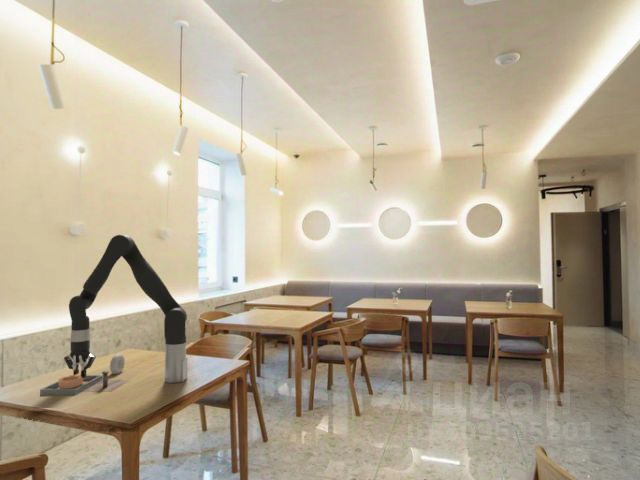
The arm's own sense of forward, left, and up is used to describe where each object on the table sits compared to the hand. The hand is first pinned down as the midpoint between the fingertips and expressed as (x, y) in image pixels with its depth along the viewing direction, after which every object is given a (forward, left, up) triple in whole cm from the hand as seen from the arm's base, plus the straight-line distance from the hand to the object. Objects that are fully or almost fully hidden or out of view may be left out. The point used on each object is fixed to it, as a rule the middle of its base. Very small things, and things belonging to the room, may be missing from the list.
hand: (79, 378), depth 183 cm
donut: (-8, -17, -3) cm, 19 cm away
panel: (-14, +3, -3) cm, 15 cm away
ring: (0, +5, -1) cm, 5 cm away
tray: (0, +5, -3) cm, 6 cm away
